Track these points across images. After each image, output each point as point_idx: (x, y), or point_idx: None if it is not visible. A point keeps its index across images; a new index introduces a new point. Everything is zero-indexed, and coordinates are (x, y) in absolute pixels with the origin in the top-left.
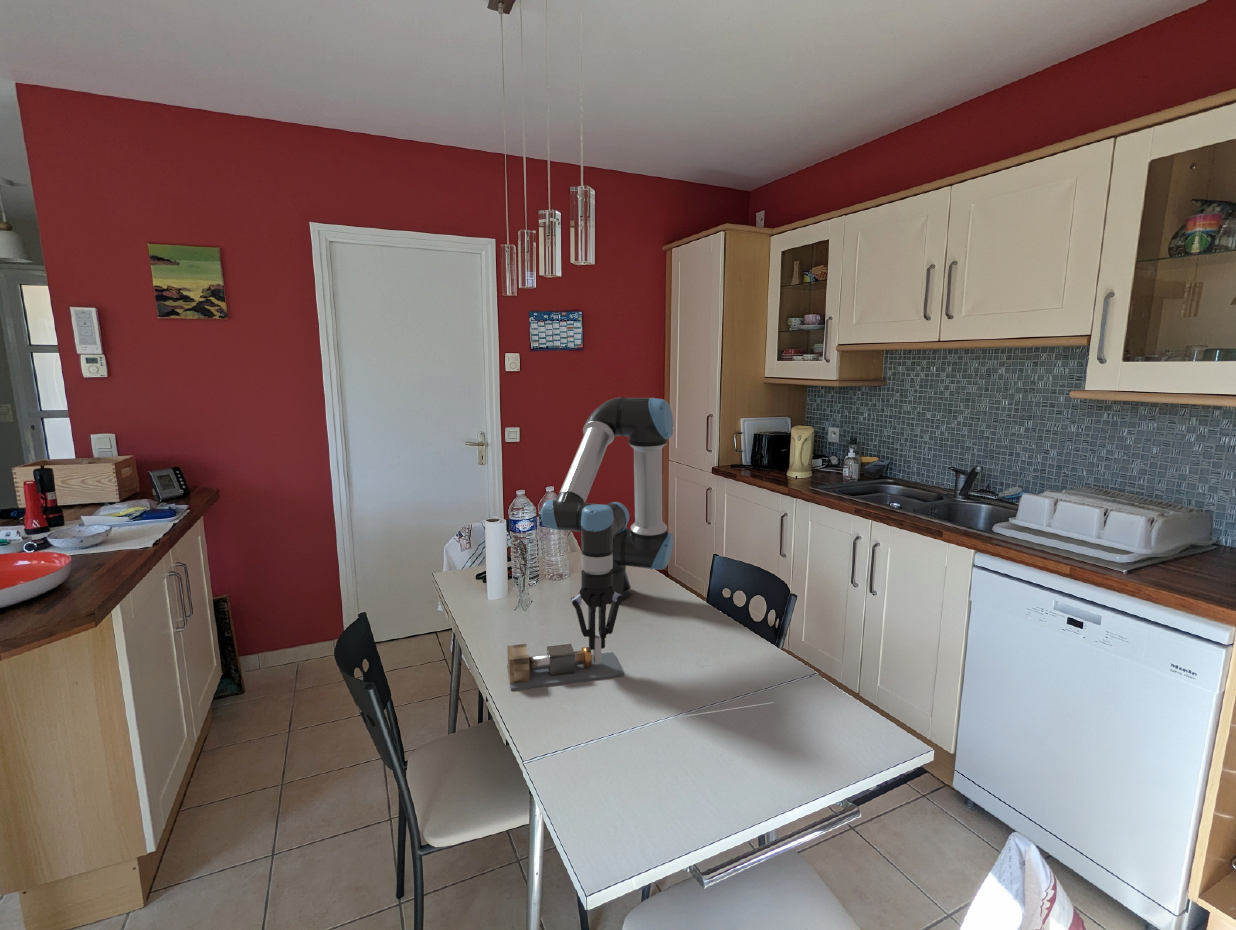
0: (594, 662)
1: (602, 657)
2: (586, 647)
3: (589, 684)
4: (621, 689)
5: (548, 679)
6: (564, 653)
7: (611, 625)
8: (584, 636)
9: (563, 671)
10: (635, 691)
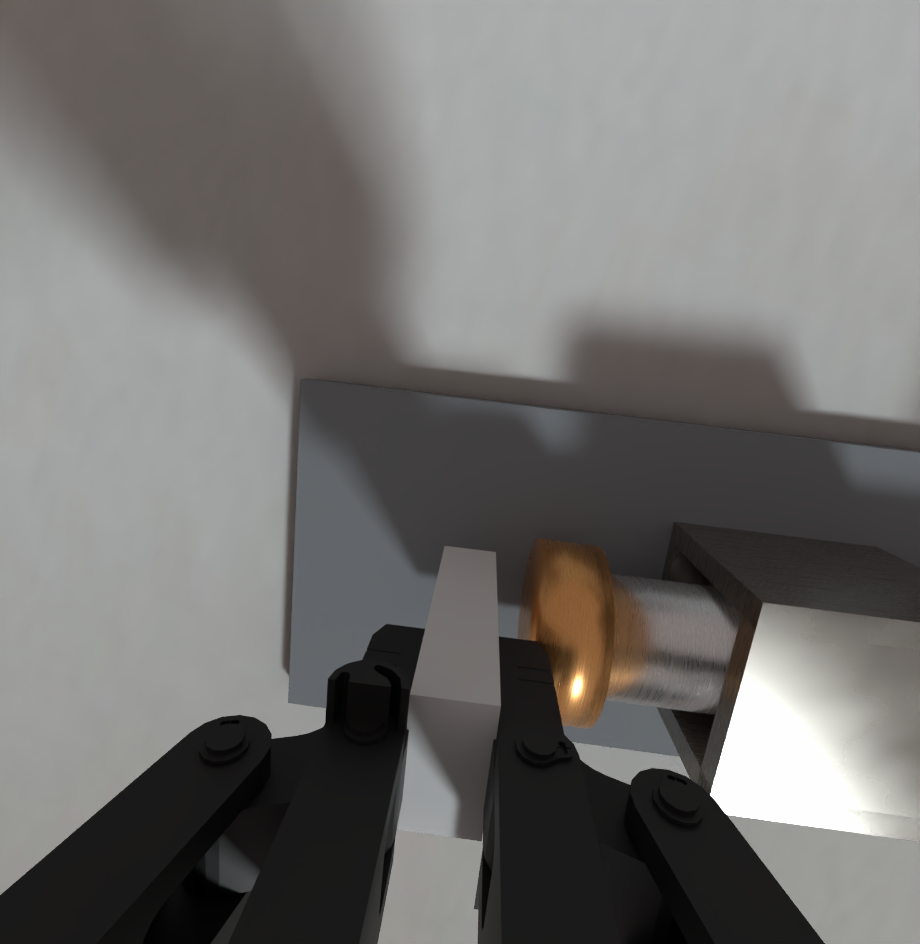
0: None
1: None
2: (565, 699)
3: (604, 366)
4: (390, 200)
5: (909, 510)
6: (873, 648)
7: (126, 852)
8: (685, 776)
9: (783, 544)
10: (291, 127)
